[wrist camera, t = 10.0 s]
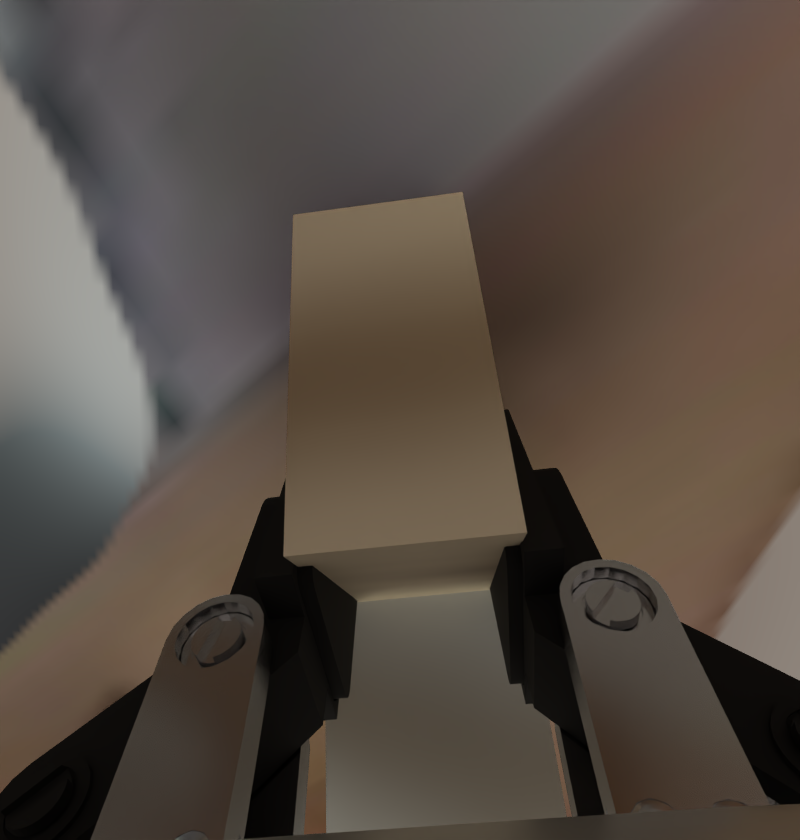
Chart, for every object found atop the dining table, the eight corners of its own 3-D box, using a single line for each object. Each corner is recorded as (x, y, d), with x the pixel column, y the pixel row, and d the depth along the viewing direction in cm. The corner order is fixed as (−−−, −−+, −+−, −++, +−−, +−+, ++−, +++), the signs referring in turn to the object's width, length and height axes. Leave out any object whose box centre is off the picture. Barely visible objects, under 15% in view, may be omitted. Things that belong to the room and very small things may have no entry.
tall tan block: (328, 369, 14) (265, 218, 9) (479, 351, 13) (491, 188, 9) (334, 849, 9) (215, 1015, 5) (564, 833, 9) (674, 994, 4)
